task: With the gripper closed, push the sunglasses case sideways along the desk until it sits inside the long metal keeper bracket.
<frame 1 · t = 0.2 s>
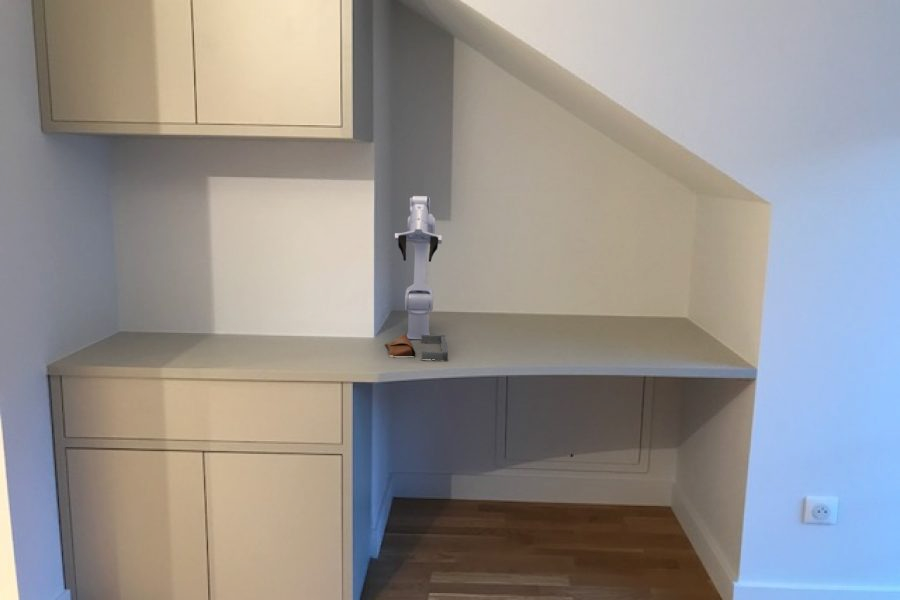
hand: (417, 259, 214), 31 cm above the worktop, tool tilted 45°, fingers open, 7 cm apart
sunglasses case: (399, 352, 228), on the worktop
keeper bracket: (433, 351, 229), on the worktop
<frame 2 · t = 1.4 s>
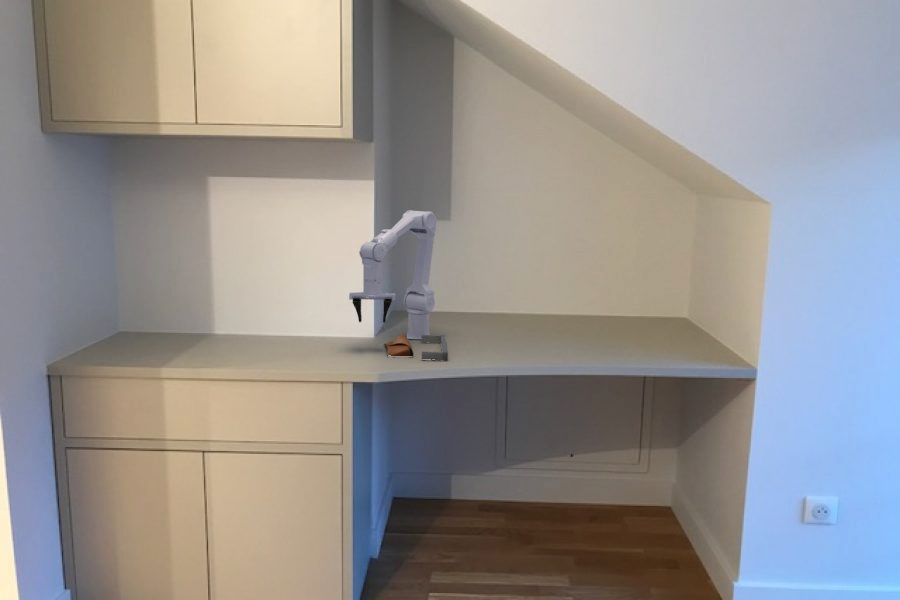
hand: (372, 321, 226), 9 cm above the worktop, tool pointing down, fingers open, 7 cm apart
nothing on the worktop moved.
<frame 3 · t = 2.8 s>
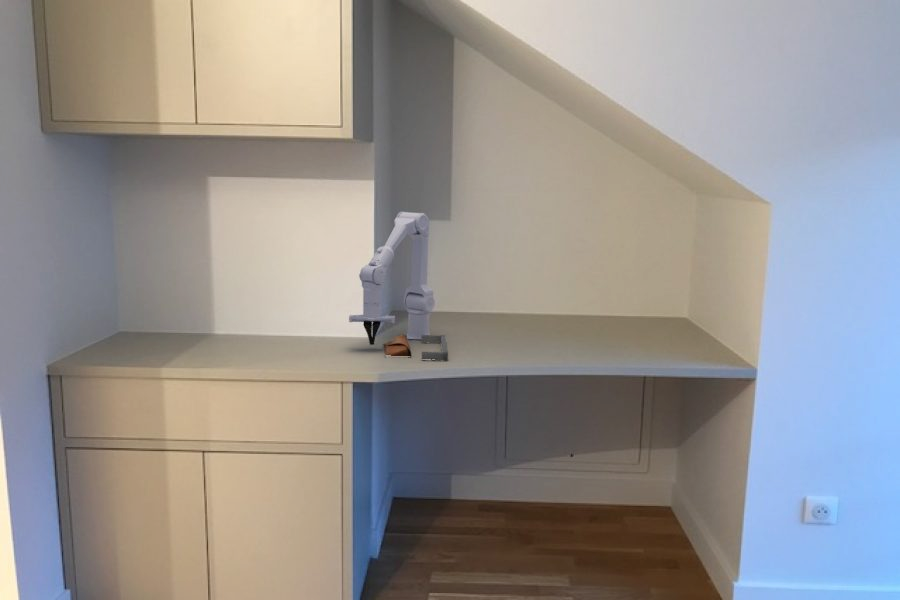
hand: (371, 344, 228), 2 cm above the worktop, tool pointing down, fingers closed
nothing on the worktop moved.
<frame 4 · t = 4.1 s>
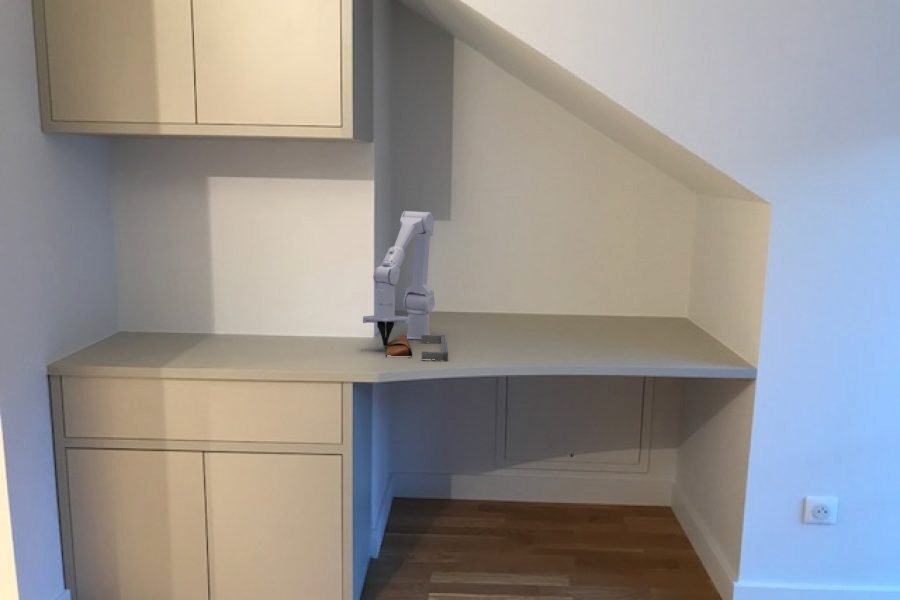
hand: (385, 344, 228), 2 cm above the worktop, tool pointing down, fingers closed
nothing on the worktop moved.
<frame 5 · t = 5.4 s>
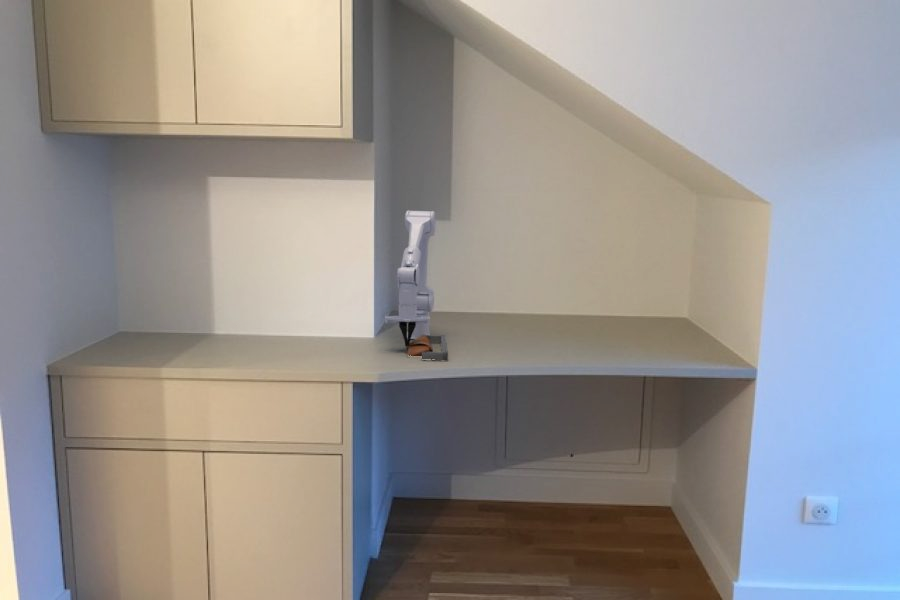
hand: (407, 345, 228), 2 cm above the worktop, tool pointing down, fingers closed
sunglasses case: (418, 352, 229), on the worktop
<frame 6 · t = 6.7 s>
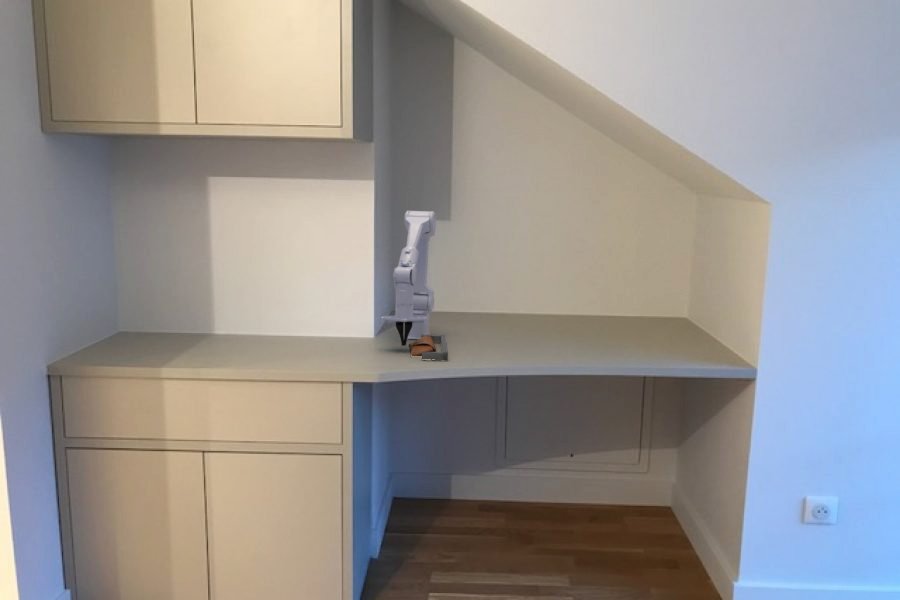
hand: (403, 344, 228), 2 cm above the worktop, tool pointing down, fingers closed
sunglasses case: (421, 352, 229), on the worktop
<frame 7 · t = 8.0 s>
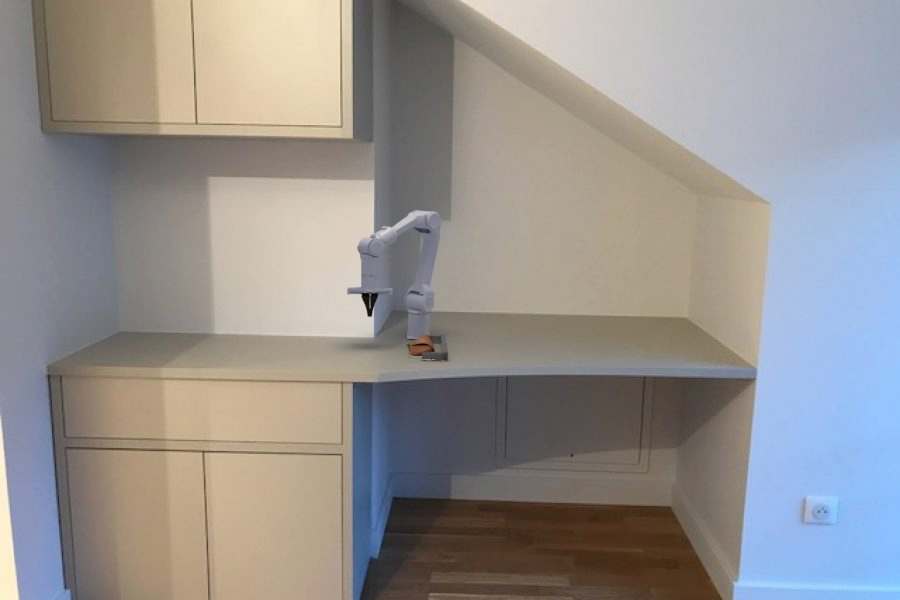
hand: (369, 316, 230), 10 cm above the worktop, tool pointing down, fingers closed
nothing on the worktop moved.
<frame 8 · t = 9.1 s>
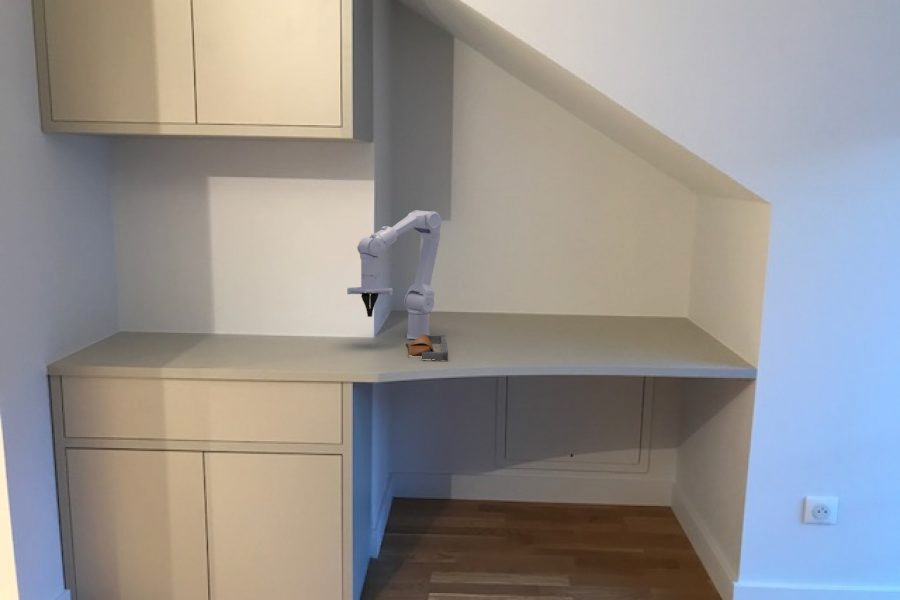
hand: (369, 316, 230), 10 cm above the worktop, tool pointing down, fingers closed
nothing on the worktop moved.
at the end: sunglasses case inside the target area (2.8 cm from its centre), on the worktop; sunglasses case moved 6.3 cm from its start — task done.
